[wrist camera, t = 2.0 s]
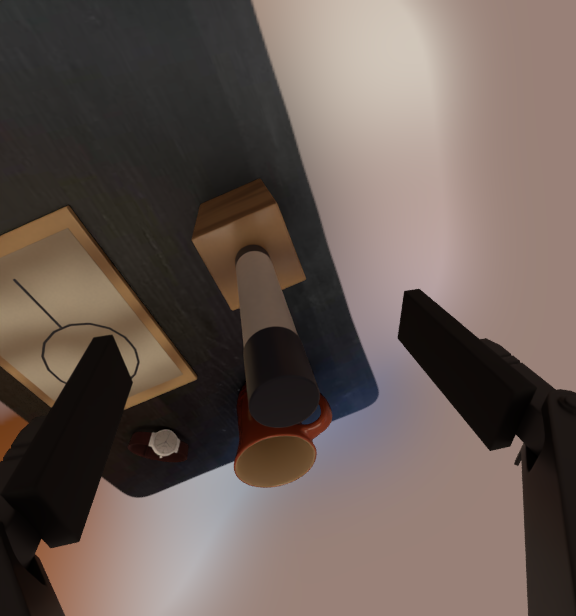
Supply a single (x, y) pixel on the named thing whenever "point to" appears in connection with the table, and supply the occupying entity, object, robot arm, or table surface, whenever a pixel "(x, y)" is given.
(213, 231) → the wooden block
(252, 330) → the marker
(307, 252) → the table surface
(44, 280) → the sketch pad
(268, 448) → the mug
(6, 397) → the table surface
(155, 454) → the watch
